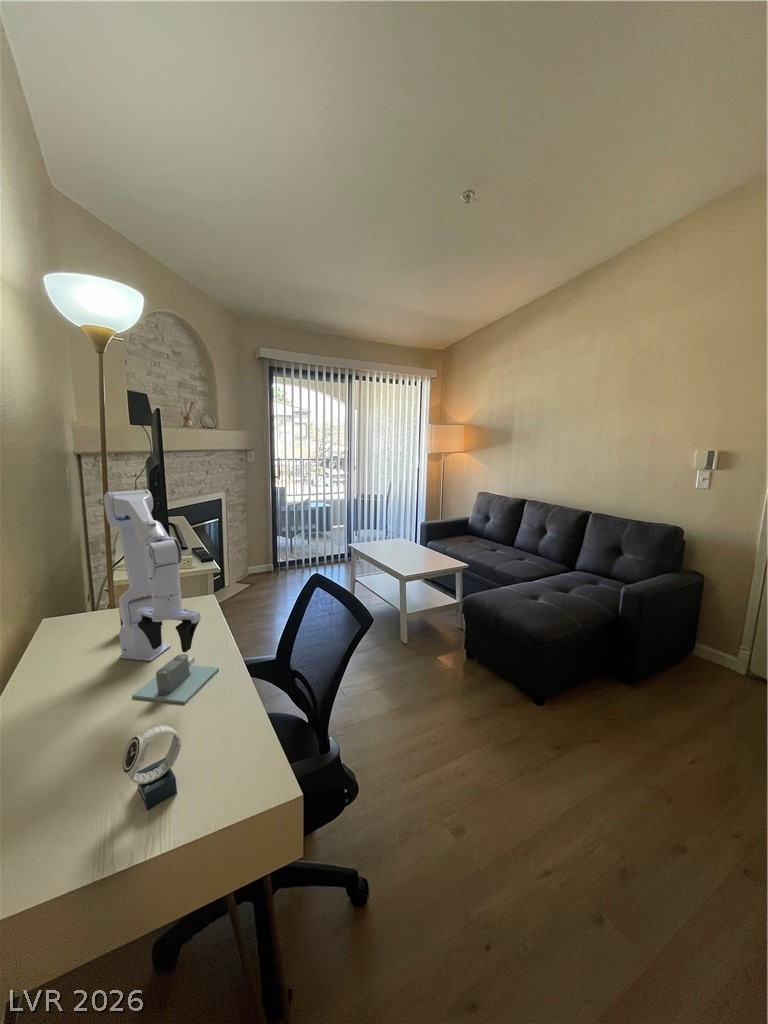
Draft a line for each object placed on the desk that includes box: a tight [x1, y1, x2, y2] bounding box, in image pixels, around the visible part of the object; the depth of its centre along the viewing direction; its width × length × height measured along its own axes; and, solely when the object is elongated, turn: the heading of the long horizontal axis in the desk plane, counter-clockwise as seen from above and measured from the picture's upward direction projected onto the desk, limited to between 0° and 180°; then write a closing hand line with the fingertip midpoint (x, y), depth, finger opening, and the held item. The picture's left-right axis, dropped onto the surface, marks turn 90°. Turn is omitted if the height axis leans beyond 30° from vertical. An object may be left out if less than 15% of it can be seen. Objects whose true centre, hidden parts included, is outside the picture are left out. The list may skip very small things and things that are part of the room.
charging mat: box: [132, 664, 220, 705], centre depth 93 cm, size 13×13×1 cm
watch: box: [122, 724, 182, 811], centre depth 63 cm, size 6×8×11 cm
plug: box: [155, 653, 196, 696], centre depth 92 cm, size 3×11×5 cm, turn 172°
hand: (171, 648), depth 90 cm, fingers open, 7 cm apart
